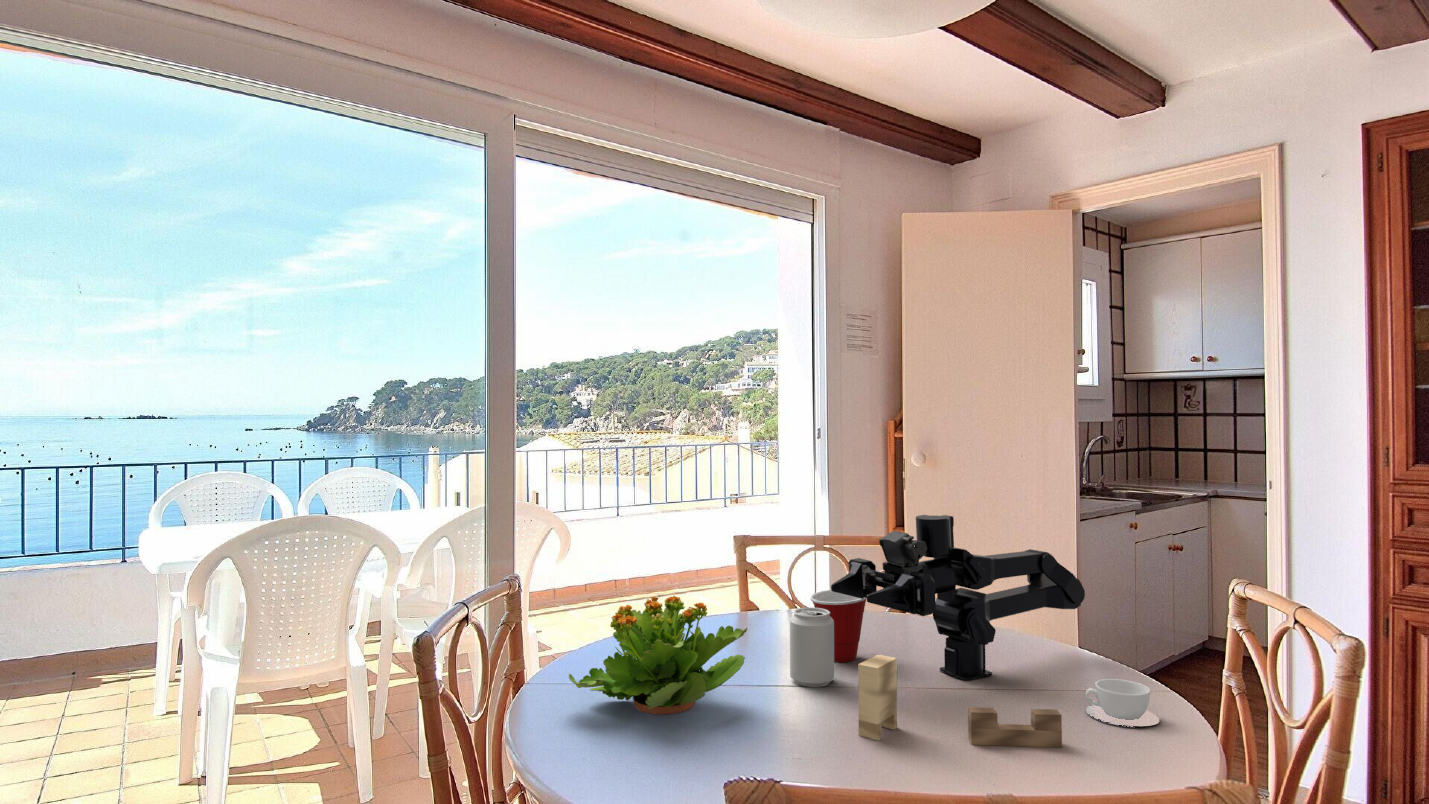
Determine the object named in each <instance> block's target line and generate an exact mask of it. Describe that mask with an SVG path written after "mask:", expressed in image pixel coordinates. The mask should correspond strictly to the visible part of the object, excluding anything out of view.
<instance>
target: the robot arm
mask: <svg viewBox="0 0 1429 804" xmlns="http://www.w3.org/2000/svg"><path fill="white" fill-rule="evenodd" d="M954 520H955V519H954V516H953V515H946V514H943V515H929V514H921V515H917V516H915V530H916V531H915V532H916V534H915V535H916V536H913V535H910V534H909V533H907V532H904V531H903V532H902V531H897V530H892V531H890V532H889V533H887V534H885V535H884V536H883V537H881V538H880V539H879V540H878V544H879V546H880V547H881V549H882V552H883V555H884V558H885V560H886V561H885V562H882V570H883V571H884V572H883V571H879V570H876V569H877V566H876V564H875V563H874V562H873V561H872V560H869V559H865V558H860V557H857V558H852V559H850V560H849V561H848V573H847V574H846V575H845V576H843V577H841V578H840V579H837V580H836V581H835V582H832V584H830V590H831V591H833V592H837V593H841V594H845V595H849V596H853V597H857V598H861V599H864V598H867V599H866V602H867V603H869V604H872V605H876V606H881V607H884V608H889V609H891V610H895V611H899V612H903V613H907V614H911V615H917V616H921V617H925V616H930V615H932V617H933V618H932V619H933V621H934V623H935V626H936V629H937V633H938V634H939V635H941V636H942V635H943V636H946V637H945V646H944V648H943V649H944V652H943V653H944V654H943V655H944V656H943V657H944V666H941V667H940V668H939V672H942V673H945V674H947V675H950V676H952V677H955V678H957V679H959V680H963V681H972V680H976V679H980V678H986V677H991V676H993V671H990V670H987V669H986V645H989V644H990V643H993V642H994V640H995V635H996V631H997V630H996V628H995V627H994V626H993V624H991V623H990V622H991V621H993V620H994V621H995V620H998V619H1003V618H1007V617H1009V616H1014V615H1019V614H1022V613H1026V612H1030V611H1031V612H1032V611H1034V610H1038V609H1044V608H1048V609H1049V608H1050V609H1056V610H1058V609H1059V610H1076V609H1078V608H1079V607H1080V606H1081V605H1082V603H1083V602H1084V600H1085V597H1086V592H1085V588H1084V587H1083V584H1082V581H1080V579H1079V578H1077V577H1076V575H1075V574H1073V572H1071V571H1070V570H1068V569H1067V568H1066V567H1065V566H1064V565H1062V564H1061V563H1059V562H1058V561H1057V559H1056V558H1055V557H1054V556H1053V554H1052V553H1049V552H1047V551H1042V550H1037V549H1032V548H1030V549H1026V550H1023V551H1014V552H1007V553H997V554H989V555H981V554H974V553H973V554H972V553H971V552H969V551H968V550H967V549H964V548H961V547H960V548H958V547H955V541H954V539H955V538H954V536H955V535H954V526H955V522H954ZM915 537H916V539H915ZM923 557H925V558H933V559H928V560H923V561H920V560H921V559H922V558H923ZM1022 576H1027V577H1026V578H1027V579H1026V580H1027V583H1028V584H1026V585H1022V586H1018V587H1017V586H1016V587H1013V588H1008V589H1004V590H999V591H995V592H989V593H985V592H980V591H977V590H981V589H983V588H986V587H988V586H992V584H994V583H993V582H995V581H997V580H1000V579H1006V578H1013V577H1022ZM958 586H959V587H958ZM877 587H880V588H881V589H879V590H878V589H877ZM956 587H958V588H956Z"/></svg>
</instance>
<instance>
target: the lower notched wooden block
mask: <svg viewBox="0 0 1429 804" xmlns="http://www.w3.org/2000/svg"><path fill="white" fill-rule="evenodd" d="M1062 717H1063V716H1062V713H1061V712H1060V711H1059V710H1058V709H1047V708H1046V709H1045V708H1043V709H1042V708H1031V709H1030V724H1020V723H1019V724H1017V723H1016V724H1013V723H1009V724H1008V723H998V712H997V710H996V708H995V707H979V706H978V707H977V706H976V707H973V706H972V707H971V706H970V707H969V706H967V724H968V725H967V730H968V731H967V732H968V733H967V735H968V737H967V739H968V741H969V743H970V744H971V745H974V746H975V745H977V746H1002V747H1003V746H1004V747H1005V746H1006V747H1007V746H1009V747H1011V746H1012V747H1035V748H1036V747H1037V748H1040V747H1041V748H1063V739H1062V738H1063V732H1062V731H1063V730H1062V729H1063V726H1062V724H1063V723H1062V721H1063V720H1062Z"/></svg>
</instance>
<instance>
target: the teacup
mask: <svg viewBox="0 0 1429 804" xmlns="http://www.w3.org/2000/svg"><path fill="white" fill-rule="evenodd" d="M1094 685H1095V686H1094V687H1095V688H1092V687H1089V688H1088V689H1086V691H1085V699H1086V701H1087V702H1088V703H1089V704H1091V705H1095V706H1099V707H1101V708H1102V709H1103V710H1104V712H1105V713H1106V714H1107V715H1109V716H1112V717H1115V718H1118V719H1125V720H1134V719H1139V718H1140V717H1141V716H1142V715H1143V714H1144V713H1145V712H1146V710H1148V707H1149V705H1150V696H1151V689H1150V687H1148V686H1146V685H1144V684H1143V683H1139V682H1137V681H1132V680H1128V679H1120V678H1103V679H1102V678H1101V679H1099V680H1097V681H1095V683H1094ZM1090 693H1093V694H1094V695H1095V696H1096V698H1097V701H1095V700H1093V699H1090V697H1089V694H1090ZM1095 706H1090V705H1088V706H1087V707H1086V708H1087V709H1085V712H1086V713H1087V714H1088V715H1089V714H1090V715H1089V716H1090V717H1092V716H1096V715H1094V714H1095V713H1092V711H1094V710H1093V709H1090V708H1095ZM1091 714H1092V715H1091ZM1094 719H1096V720H1098V719H1100V718H1096V717H1094ZM1101 722H1103V723H1106V722H1109V721H1103V720H1101ZM1109 724H1110V725H1114V726H1119V725H1122V726H1121V727H1124V726H1123V724H1118V723H1109ZM1124 725H1125V724H1124ZM1126 728H1134V727H1133V726H1130V727H1129V726H1127V727H1126Z"/></svg>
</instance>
